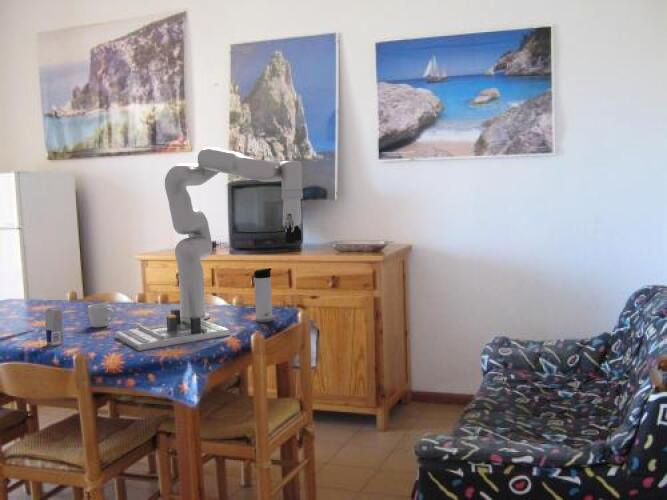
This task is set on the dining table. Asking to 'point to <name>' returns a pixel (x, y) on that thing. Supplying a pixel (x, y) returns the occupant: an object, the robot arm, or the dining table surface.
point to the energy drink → (54, 326)
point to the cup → (100, 315)
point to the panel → (171, 333)
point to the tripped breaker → (171, 322)
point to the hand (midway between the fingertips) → (293, 241)
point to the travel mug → (263, 295)
